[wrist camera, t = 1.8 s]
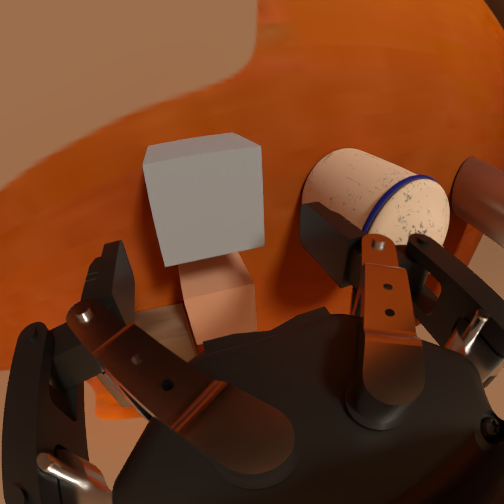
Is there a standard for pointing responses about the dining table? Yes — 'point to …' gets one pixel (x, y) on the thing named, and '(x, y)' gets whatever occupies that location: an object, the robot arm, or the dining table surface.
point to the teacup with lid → (379, 196)
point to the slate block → (205, 196)
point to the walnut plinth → (162, 336)
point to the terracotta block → (218, 296)
